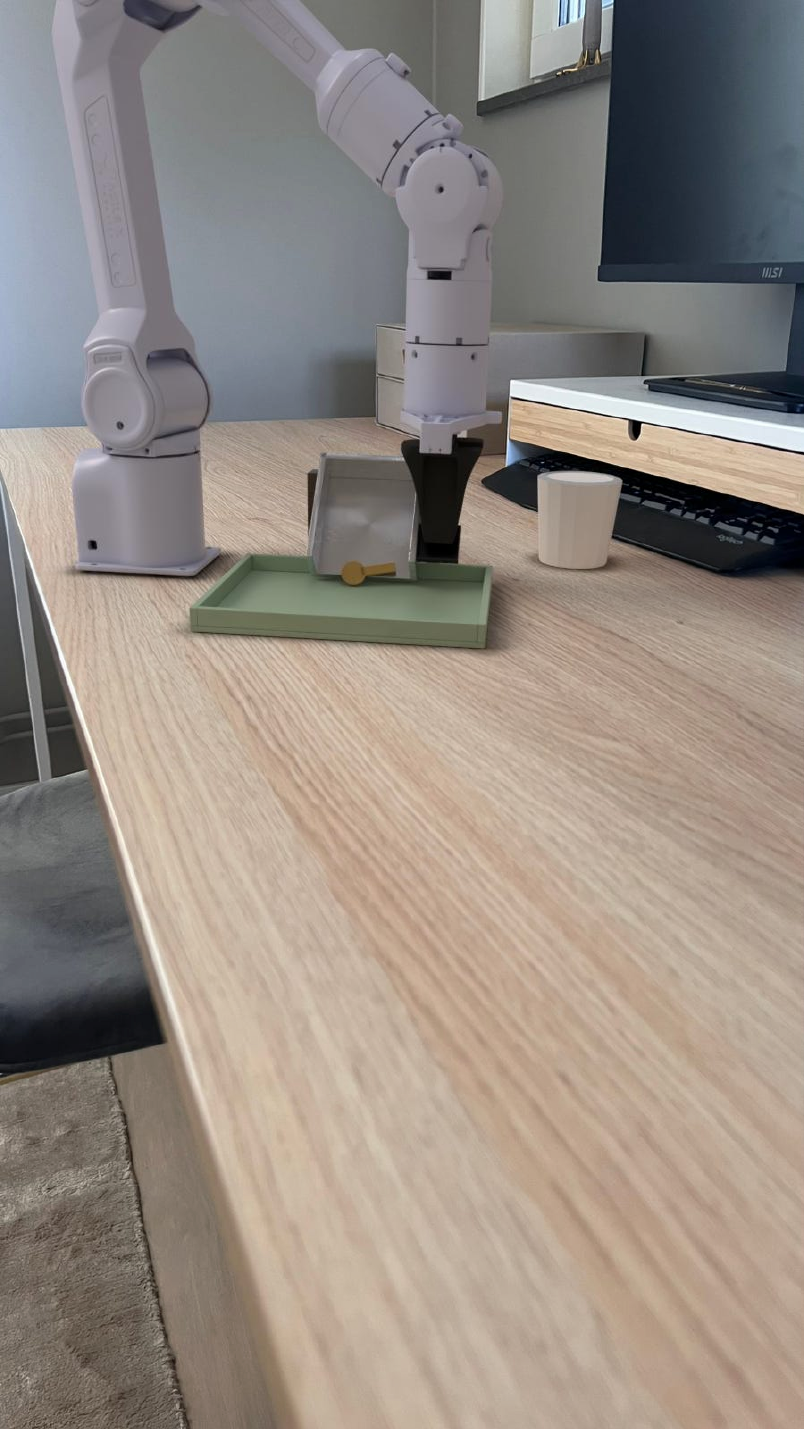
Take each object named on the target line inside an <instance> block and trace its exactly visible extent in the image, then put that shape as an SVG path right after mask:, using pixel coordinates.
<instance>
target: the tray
mask: <svg viewBox="0 0 804 1429" xmlns="http://www.w3.org/2000/svg"><path fill="white" fill-rule="evenodd" d="M493 570H494V566H493V565H482V564H466V563H465V564H463V563H458V564H448V563H426V562H419V569H418V579H417V582H411V581H392V580H373V579H364V581H363V582H362V583H361V584H359V585H357V586H351V585H348V584H346V583H345V582H344V580H343V579H342V578H336V577H317V576H311V572H310V569H309V566H308V562H307V559H306V555H292V554H291V555H289V554H287V555H286V554H272V553H271V554H270V553H269V554H268V553H251V552H250V553H249V552H247V553H245V555H244V556H242V557H241V558H240V559H239V560H238V561H237V562H236V563H235V564H234V565H233V566H232V567H231V568H230V569H229V570H227V571H226V573H225V574H223V576H221V577H220V579H218V580H217V581H216V582H215V583H214V584H213V585H212V586H211V587H209V589H207V590H206V592H204V593H203V594H202V595H201V596H200V597H199V598H197V600H196V601H195V602H193V604H192V605H190V607H189V610H188V611H189V625H190V626H189V627H190V630H189V631H190V632H197V633H211V634H229V635H230V634H231V635H245V636H247V635H248V636H265V637H282V638H298V639H315V640H329V641H330V640H332V641H349V642H363V643H364V642H366V643H380V644H381V643H383V644H398V645H399V644H401V645H414V646H415V645H418V646H432V647H451V648H467V649H468V648H469V649H483V650H484V649H485V648H486V642H487V641H486V640H487V632H488V623H489V614H490V606H491V596H492V587H493V574H494V573H493V572H494V571H493Z"/></svg>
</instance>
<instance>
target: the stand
mask: <svg viewBox="0 0 804 1429" xmlns="http://www.w3.org/2000/svg"><path fill="white" fill-rule="evenodd" d="M317 475H318V468H312V469H311V470H310V471H308V472H307V538H308V537H309V530H310V523H311V516H312V509H313V502H314V495H315V488H316V482H317ZM426 563H429V562H426Z"/></svg>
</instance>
